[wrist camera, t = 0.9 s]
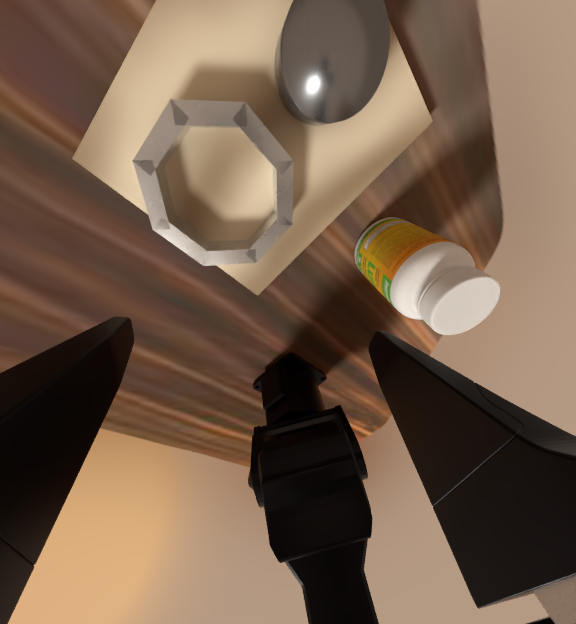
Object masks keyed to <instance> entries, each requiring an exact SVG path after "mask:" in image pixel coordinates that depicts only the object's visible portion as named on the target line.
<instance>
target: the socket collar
mask: <svg viewBox="0 0 576 624" xmlns="http://www.w3.org/2000/svg"><path fill="white" fill-rule="evenodd" d="M190 128H234V129H240V130H241V131H242V133H243V134H244V135H245V136H246V137H247V138H248V139H249V141H250V142H251V143H252V144H253V145H254V146H255V147H256V148H257V150H258V151H259V152H260V153H261V154H262V155H263V156H264V158H265V159H266V160H267V161H268V162H269V163H270V164H271V166H272V167H273V211H274V212H273V213H272V214H271V215H270V216H269V217H268V218H267V219H266V220H265V222H264V223H263V224H262V225H261V226H260V227H259V228H258V229H257V230H256V232H255V233H254V234H253V235H252V236H251V237H250V238H249V239H248V240H231V241H209V240H208V239H206V238H205V237H204V236H203V235H201V234H200V233H199V232H198V231H196V230H195V229H194V228H192V227H191V226H190V225H189V224H187V223H186V222H185V221H184V220H182V219H181V218H180V217H178V216H177V215H176V214H175V210H174V206H173V202H172V198H171V193H170V189H169V185H168V181H167V177H166V172H165V168H164V166H165V165H166V163H167V162H168V160H169V159H170V157H171V156H172V154H173V153H174V151H175V150H176V148H177V147H178V146H179V144H180V143H181V141H182V140H183V138H184V137H185V135H186V134H187V132H188V131H189V129H190ZM132 161H133V164H134V167H135V171H136V174H137V178H138V181H139V184H140V188H141V191H142V194H143V198H144V201H145V204H146V208H147V211H148V215H149V218H150V221H151V225H152V228H153V230H154V231H156V232H157V233H158V234H160V235H161V236H163V237H164V238H165V239H167V240H168V241H170V242H171V243H172V244H174V245H175V246H177V247H178V248H179V249H181V250H182V251H184V252H185V253H186V254H188V255H189V256H191V257H192V258H193V259H195V260H196V261H198V262H199V263H200V264H202V265H203V266H209V265H226V264H244V263H257V262H258V260H259V259H260V258H261V257H262V256H263V255H264V254H265V253H266V252H267V251H268V250H269V249H270V248H271V247H272V246H273V245H274V244H275V243H276V241H277V240H278V239H279V238H280V237H281V236H282V235H283V234H284V233H285V232H286V231H287V230H288V229H289V228H290V227H291V226H292V225H293V224H292V218H293V169H294V161H293V160H292V158H291V157H290V156H289V155H288V153H287V152H286V151H285V150H284V149H283V147H282V146H281V145H280V144H279V142H278V141H277V140H276V139H275V138H274V136H273V135H272V134H271V133H270V131H269V130H268V129H267V128H266V127H265V125H264V124H263V123H262V122H261V120H260V119H259V118H258V117H257V115H256V114H255V113H254V112H253V111H252V109H251V108H250V107H249V106H248V104H247V103H246V102H233V101H206V100H179V99H170V101H169V103H168V104H167V106H166V107H165V109H164V111H163V112H162V114H161V115H160V117H159V119H158V120H157V122H156V123H155V125H154V127H153V128H152V130H151V132H150V133H149V135H148V136H147V138H146V140H145V141H144V143H143V144H142V146H141V148H140V149H139V151H138V152H137V154H136V156H135V157H134V159H133V160H132Z"/></svg>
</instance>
